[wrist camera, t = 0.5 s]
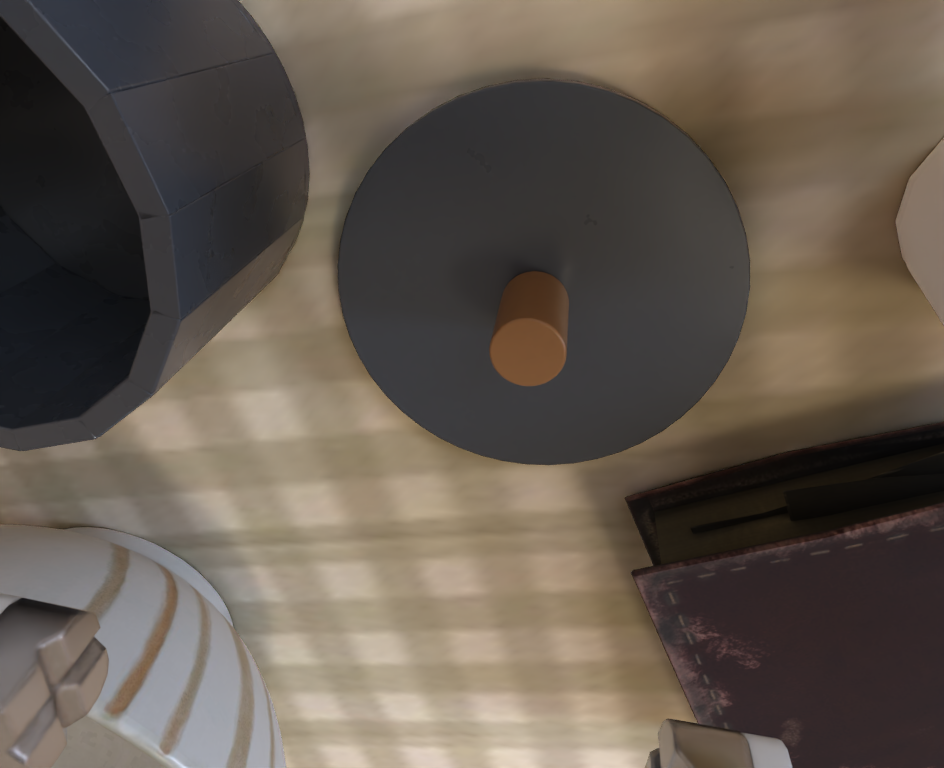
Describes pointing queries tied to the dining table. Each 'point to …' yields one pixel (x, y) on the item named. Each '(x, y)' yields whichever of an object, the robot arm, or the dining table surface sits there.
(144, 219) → the pot
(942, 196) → the foam cup
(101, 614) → the decorative bowl
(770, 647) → the diary
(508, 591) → the dining table surface
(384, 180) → the lid
